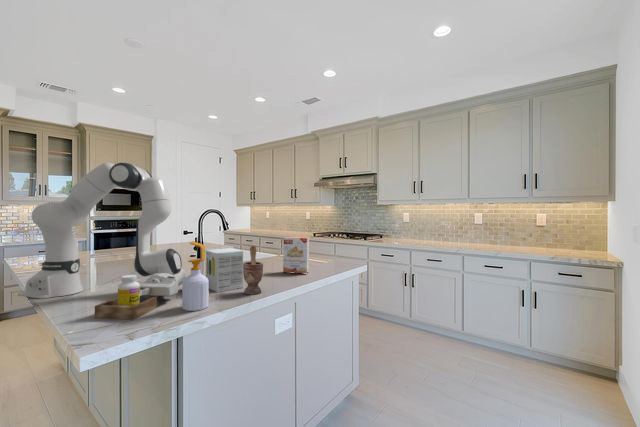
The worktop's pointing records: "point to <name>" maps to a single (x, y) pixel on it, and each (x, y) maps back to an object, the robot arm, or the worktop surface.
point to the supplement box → (224, 269)
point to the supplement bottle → (128, 291)
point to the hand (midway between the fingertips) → (135, 293)
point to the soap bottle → (195, 286)
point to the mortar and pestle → (252, 273)
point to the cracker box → (296, 254)
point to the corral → (124, 309)
